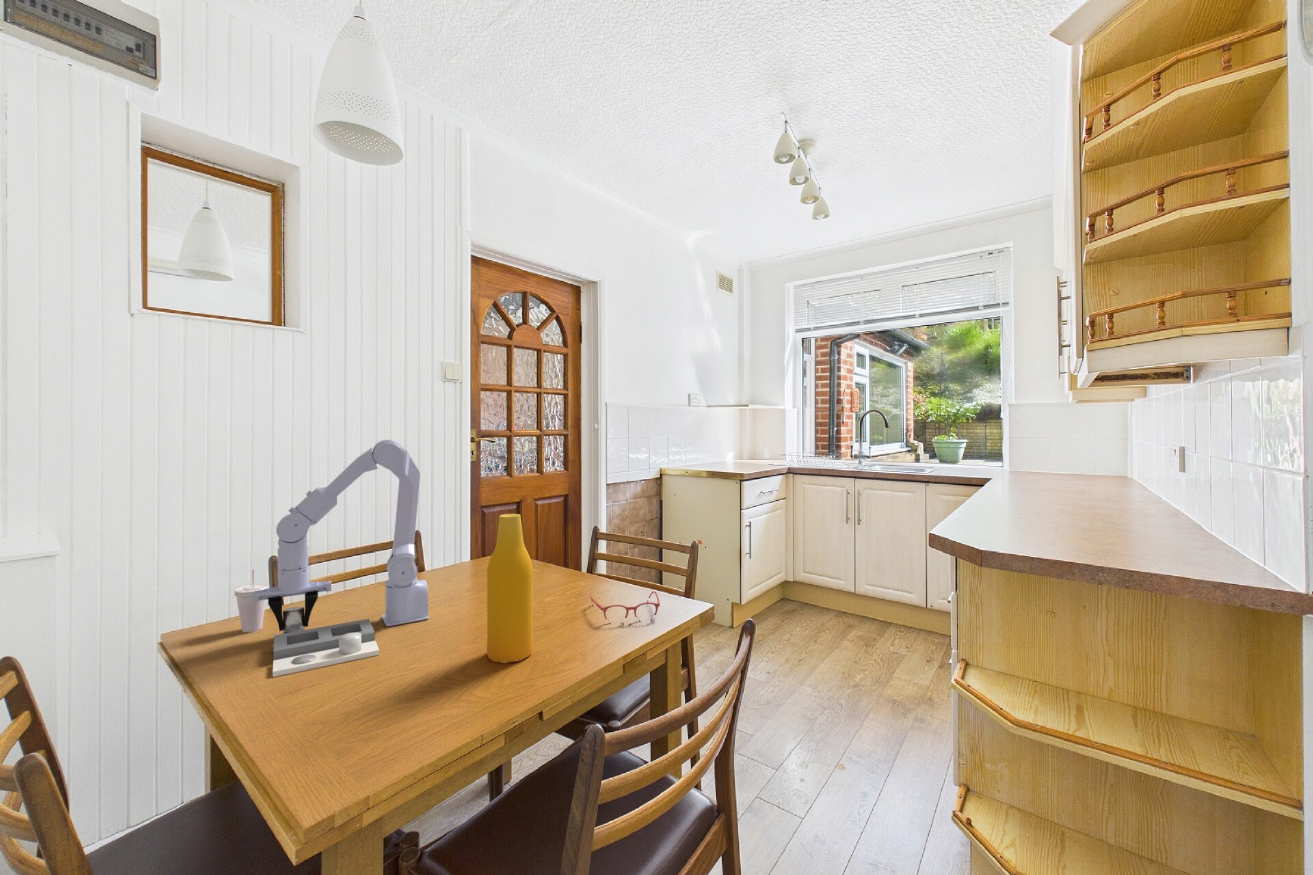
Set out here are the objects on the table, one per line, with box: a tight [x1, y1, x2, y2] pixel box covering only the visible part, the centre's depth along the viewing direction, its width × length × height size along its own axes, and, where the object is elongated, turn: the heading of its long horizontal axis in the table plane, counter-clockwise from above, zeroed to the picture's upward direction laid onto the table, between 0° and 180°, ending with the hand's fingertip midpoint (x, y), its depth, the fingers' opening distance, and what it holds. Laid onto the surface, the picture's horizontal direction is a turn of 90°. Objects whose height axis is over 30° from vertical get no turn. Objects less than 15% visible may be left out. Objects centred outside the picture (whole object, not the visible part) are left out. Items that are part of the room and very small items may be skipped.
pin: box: [282, 606, 305, 634], centre depth 122 cm, size 4×4×6 cm
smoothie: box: [233, 569, 269, 633], centre depth 126 cm, size 6×6×14 cm
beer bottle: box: [486, 513, 534, 663], centre depth 112 cm, size 9×9×29 cm
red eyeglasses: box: [589, 590, 661, 620], centre depth 138 cm, size 17×16×5 cm
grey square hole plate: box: [272, 618, 376, 661], centre depth 117 cm, size 18×10×2 cm, turn 124°
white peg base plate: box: [272, 633, 380, 678], centre depth 109 cm, size 18×6×4 cm, turn 124°
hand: (293, 627), depth 122 cm, fingers closed on pin, 4 cm apart
